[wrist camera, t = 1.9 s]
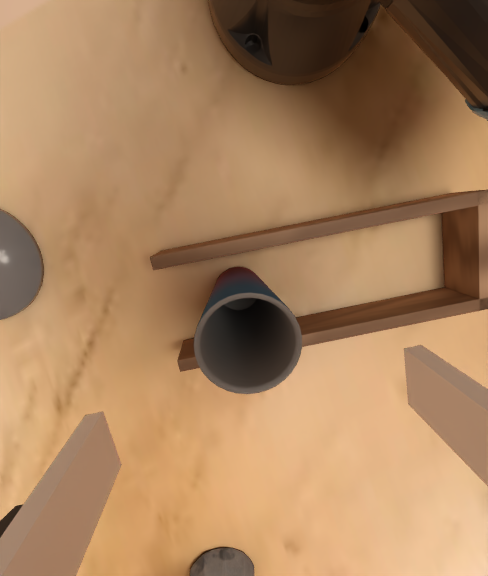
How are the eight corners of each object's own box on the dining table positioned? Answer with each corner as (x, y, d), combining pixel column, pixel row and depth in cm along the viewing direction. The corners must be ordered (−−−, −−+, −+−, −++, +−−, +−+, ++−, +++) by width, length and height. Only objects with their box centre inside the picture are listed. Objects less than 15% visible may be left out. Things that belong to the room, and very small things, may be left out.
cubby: (161, 250, 33) (149, 257, 28) (452, 192, 33) (491, 189, 28) (186, 350, 35) (180, 371, 31) (455, 295, 36) (491, 308, 31)
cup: (270, 258, 34) (306, 293, 19) (268, 319, 35) (298, 393, 21) (206, 257, 33) (192, 292, 19) (206, 319, 35) (194, 394, 20)
